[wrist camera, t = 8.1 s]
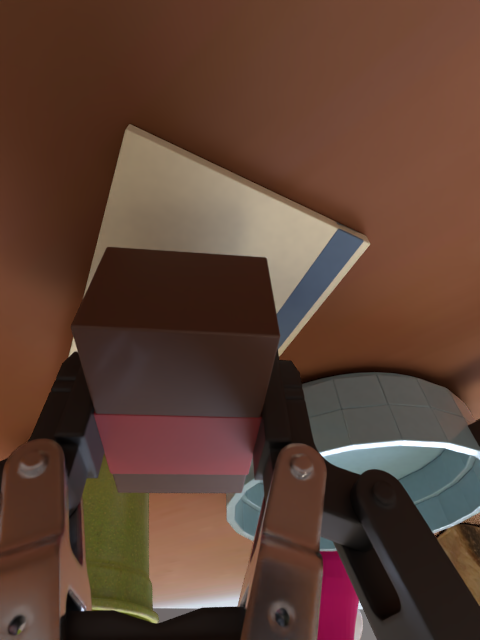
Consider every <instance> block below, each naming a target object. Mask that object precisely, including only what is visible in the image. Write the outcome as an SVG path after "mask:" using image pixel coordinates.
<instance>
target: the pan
mask: <svg viewBox="0 0 480 640" xmlns="http://www.w3.org/2000/svg"><path fill="white" fill-rule="evenodd" d="M302 389H303V392H304V397H305V398H304V400H305V402H306V406H307V411H308V416H309V421H310V426H311V431H312V435H313V440H314V444H315V446H316V448H317V450H318V452H319V453H320V454H321V455H322V457H323V458H325V459H326V460H327V461H328V462H330V463H331V464H333V465H335V466H337V467H339V468H342V469H345V470H348V471H351V472H354V473H357V474H360V475H361V474H362V473H363V472H365V471H367V470H371V469H378V470H382V471H385V472H387V473H389V474H391V475H392V476H394V477H395V478H396V479H397V480H398V481H399V482H400V483H401V484H402V485H403V487H404V488H405V490H406V491H407V493H408V495H409V496H410V498H411V499H412V501H413V502H414V504H415V506H416V507H417V509H418V510H419V512H420V513H421V515H422V516H423V518H424V520H425V521H426V523H427V524H428V526H429V527H430V529H431V531H432V532H433V533H436V532H439V531H441V530H444V529H447V528H450V527H452V526H454V525H457V524H459V523H461V522H462V521H464V520H466V519H468V518H470V517H472V516H474V515H476V514H478V513H479V512H480V447H479V445H478V443H477V442H476V440H475V438H474V436H473V435H472V433H471V431H470V429H469V427H468V425H469V424H472V423H474V422H475V419H474V417H473V415H472V414H471V412H470V410H469V409H468V407H467V405H466V404H465V403H464V402H463V401H462V400H460V399H459V398H458V397H457V396H456V395H454V394H453V393H452V392H451V391H450V390H448V389H447V388H445V387H442V386H439V385H436V384H434V383H431V382H428V381H426V380H423V379H420V378H416V377H413V376H409V375H402V374H396V373H382V372H366V373H351V374H343V375H336V376H331V377H326V378H321V379H318V380H314V381H311V382H307V383H304V384H302ZM263 497H264V485H263V480H254V466H253V458H252V462H251V466H250V470H249V473H248V475H246V478H245V482H244V487H243V491H242V493H226V515H227V521H228V523H229V524H230V525H231V526H232V528H233V529H234V530H235V531H236V532H237V533H238V534H240V535H242V536H244V537H246V538H248V539H250V540H252V541H253V540H254V536H255V532H256V527H257V523H258V518H259V514H260V509H261V505H262V500H263ZM320 551H337V550H336V548H335V546H334V543H333V541H330V540H328V539H325V538H322V537H320Z"/></svg>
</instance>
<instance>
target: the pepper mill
mask: <svg viewBox="0 0 480 640" xmlns="http://www.w3.org/2000/svg"><path fill="white" fill-rule="evenodd" d="M320 554H321V555H322V558H323V578H322V590H321V602H320V613H319V625H318V636H317V640H354V634H355V624H356V617H357V610H358V603H359V599H358V596H357V594H356V592H355V590H354V588H353V585H352V583H351V581H350V579H349V576H348V574H347V572H346V570H345V568H344V565H343V563H342V561H341V559H340V557H339V554H338V552H337V551H320Z"/></svg>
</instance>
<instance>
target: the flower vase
mask: <svg viewBox="0 0 480 640" xmlns="http://www.w3.org/2000/svg"><path fill="white" fill-rule="evenodd" d="M362 630H363V620H362V615H361V613H360V611H359V609H358V610H357V617H356V624H355V634H354V640H360V638H361V635H362Z"/></svg>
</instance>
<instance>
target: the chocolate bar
mask: <svg viewBox="0 0 480 640" xmlns="http://www.w3.org/2000/svg"><path fill="white" fill-rule="evenodd" d="M71 329H72V333H73V337H74V340H75V344H76V347H77V351H78V354H79V358H80V361H81V365H82V368H83V372H84V375H85V379H86V382H87V386H88V389H89V393H90V396H91V400H92V403H93V407H94V410H95V411H94V417H95V421H96V424H97V428H98V431H99V435H100V438H101V441H102V445H103V448H104V454H105V457H106V460H107V464H108V467H109V471H110V473H111V474H113V477H114V481H115V484H116V488H117V491H118V493H242V491H243V487H244V482H245V478H246V475H248V473H249V470H250V466H251V462H252V458H253V451H254V447H255V443H256V439H257V435H258V431H259V427H260V423H261V419H262V415H261V413H262V409H263V405H264V401H265V397H266V393H267V389H268V385H269V381H270V377H271V373H272V369H273V365H274V361H275V356H276V352H277V348H278V344H279V340H280V331H279V325H278V319H277V313H276V308H275V302H274V296H273V290H272V285H271V279H270V273H269V267H268V262H267V258H265V257H253V256H239V255H224V254H209V253H194V252H179V251H164V250H150V249H135V248H120V247H107V248H106V250H105V252H104V254H103V256H102V258H101V261H100V263H99V265H98V267H97V269H96V272H95V274H94V276H93V278H92V280H91V283H90V285H89V287H88V289H87V291H86V294H85V296H84V298H83V300H82V302H81V305H80V307H79V309H78V311H77V313H76V316H75V318H74V320H73V322H72V324H71Z"/></svg>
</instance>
